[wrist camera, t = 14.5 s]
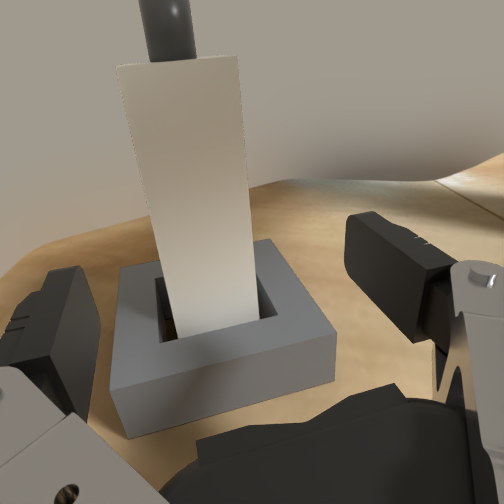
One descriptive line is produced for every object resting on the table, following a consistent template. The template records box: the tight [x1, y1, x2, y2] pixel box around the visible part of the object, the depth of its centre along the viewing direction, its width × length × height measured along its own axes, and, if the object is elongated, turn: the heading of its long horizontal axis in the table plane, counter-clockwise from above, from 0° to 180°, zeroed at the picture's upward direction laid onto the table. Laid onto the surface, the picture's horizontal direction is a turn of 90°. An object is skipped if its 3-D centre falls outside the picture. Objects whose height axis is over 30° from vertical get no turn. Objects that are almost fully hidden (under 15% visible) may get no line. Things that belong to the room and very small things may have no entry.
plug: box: [115, 0, 259, 339], centre depth 19 cm, size 5×5×18 cm
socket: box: [109, 239, 337, 440], centre depth 23 cm, size 11×11×4 cm
